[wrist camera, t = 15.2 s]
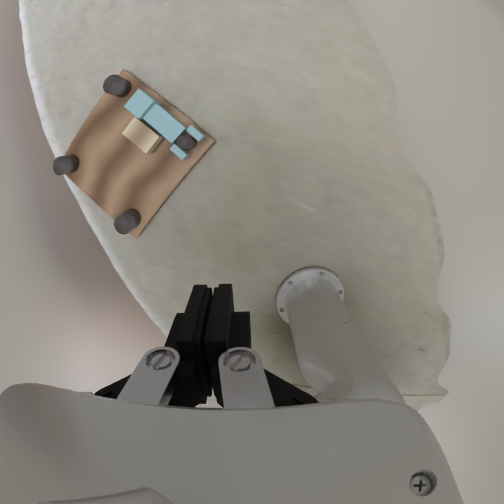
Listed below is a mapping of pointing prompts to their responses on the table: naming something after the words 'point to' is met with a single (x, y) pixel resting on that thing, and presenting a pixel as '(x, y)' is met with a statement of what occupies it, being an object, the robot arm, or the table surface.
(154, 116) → the leg
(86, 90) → the table surface
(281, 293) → the robot arm
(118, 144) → the stool seat
